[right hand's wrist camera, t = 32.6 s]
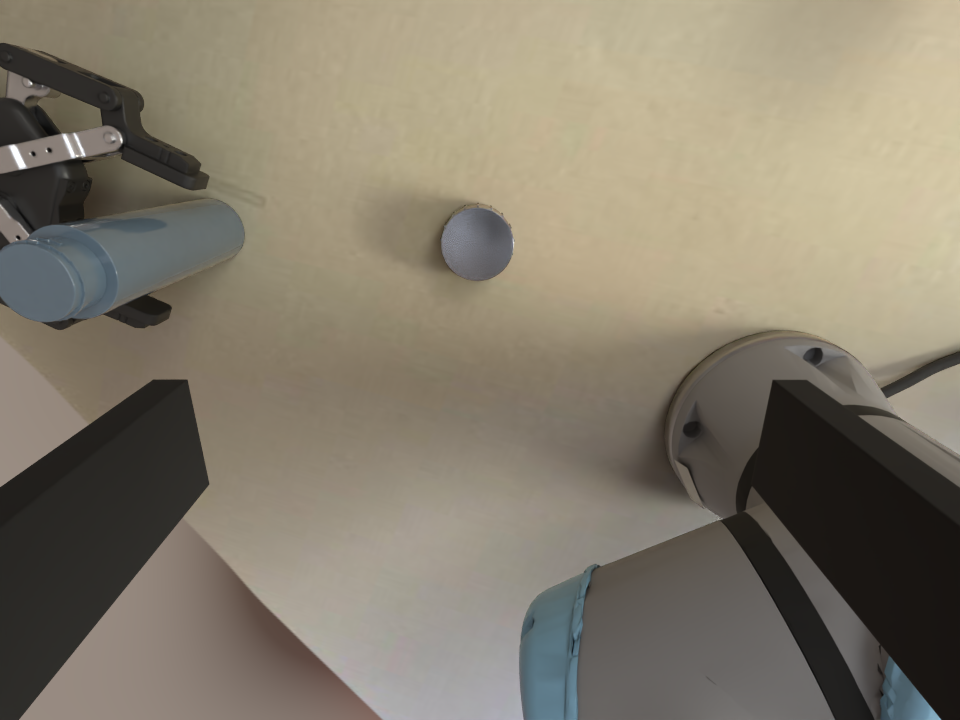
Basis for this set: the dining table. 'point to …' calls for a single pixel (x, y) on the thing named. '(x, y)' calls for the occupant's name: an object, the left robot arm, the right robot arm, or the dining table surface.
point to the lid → (477, 242)
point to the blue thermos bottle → (115, 258)
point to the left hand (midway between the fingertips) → (181, 253)
